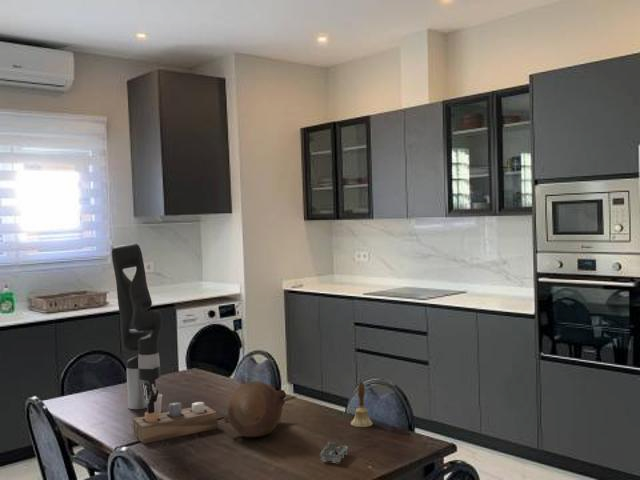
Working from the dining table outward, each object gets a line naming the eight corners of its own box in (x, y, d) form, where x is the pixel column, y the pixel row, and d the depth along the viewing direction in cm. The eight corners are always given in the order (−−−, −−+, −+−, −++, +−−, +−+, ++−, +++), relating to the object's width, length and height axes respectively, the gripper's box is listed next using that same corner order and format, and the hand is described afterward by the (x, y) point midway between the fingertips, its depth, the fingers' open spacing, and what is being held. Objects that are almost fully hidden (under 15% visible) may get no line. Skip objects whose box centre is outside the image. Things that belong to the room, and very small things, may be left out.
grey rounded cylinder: (167, 419, 238) (166, 403, 238) (179, 417, 240) (178, 401, 240) (171, 422, 234) (171, 406, 234) (183, 420, 237) (183, 404, 236)
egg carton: (330, 451, 212) (329, 439, 212) (350, 454, 209) (350, 442, 209) (317, 462, 203) (316, 450, 203) (338, 465, 200) (338, 453, 200)
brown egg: (143, 428, 233) (143, 412, 233) (156, 425, 236) (155, 409, 236) (147, 431, 229) (146, 415, 229) (160, 429, 232) (159, 412, 232)
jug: (261, 448, 216) (295, 435, 244) (274, 391, 217) (306, 384, 245) (210, 431, 224) (249, 420, 252) (223, 376, 225) (260, 371, 253)
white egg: (190, 418, 243) (190, 403, 243) (202, 416, 245) (201, 401, 245) (195, 422, 239) (194, 406, 239) (206, 419, 241) (206, 403, 241)
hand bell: (375, 421, 241) (374, 379, 241) (368, 428, 234) (366, 385, 233) (355, 419, 245) (354, 378, 244) (347, 426, 237) (346, 383, 237)
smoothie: (159, 422, 249) (157, 386, 248) (143, 421, 250) (142, 386, 250) (166, 417, 255) (164, 382, 255) (151, 416, 256) (150, 382, 256)
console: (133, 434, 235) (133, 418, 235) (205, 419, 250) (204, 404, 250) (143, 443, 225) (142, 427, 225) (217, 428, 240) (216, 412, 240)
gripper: (133, 363, 235) (135, 410, 236) (144, 370, 224) (146, 419, 225) (153, 360, 239) (155, 406, 240) (164, 367, 228) (166, 415, 229)
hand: (151, 412), depth 232 cm, fingers closed
